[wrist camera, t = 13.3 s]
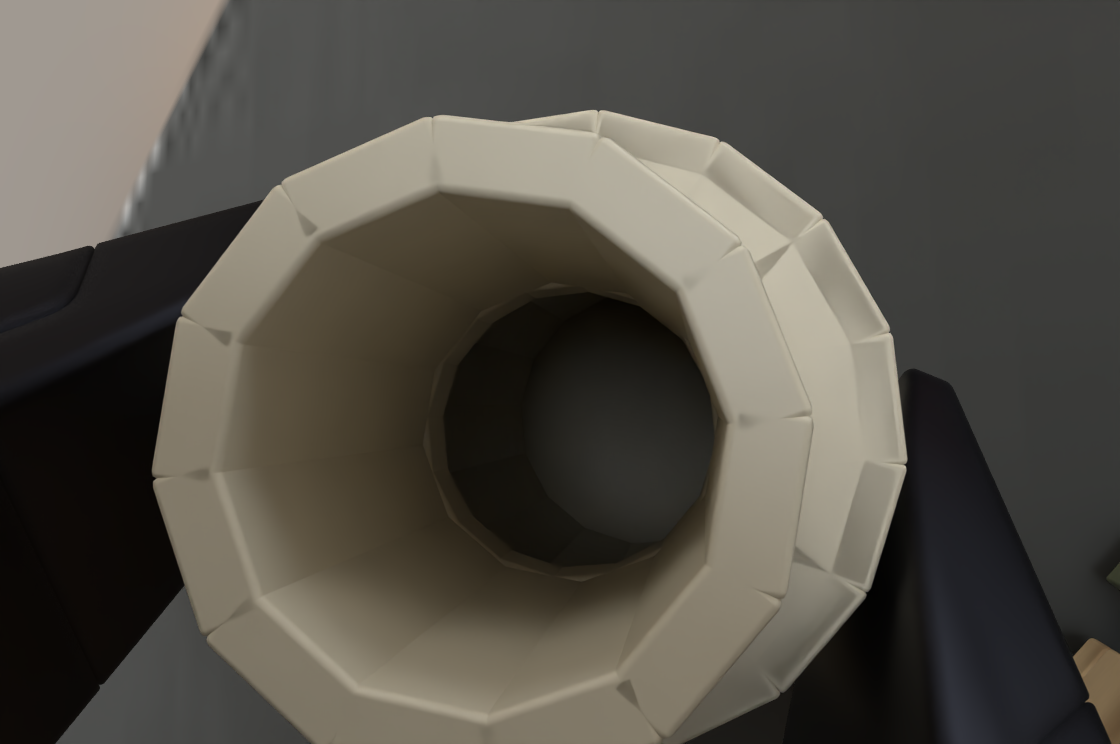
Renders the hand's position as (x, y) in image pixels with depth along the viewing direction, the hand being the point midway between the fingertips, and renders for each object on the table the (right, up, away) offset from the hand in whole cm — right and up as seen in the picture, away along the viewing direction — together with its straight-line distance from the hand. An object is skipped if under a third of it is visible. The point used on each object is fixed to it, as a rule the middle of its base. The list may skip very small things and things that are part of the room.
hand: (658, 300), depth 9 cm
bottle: (+1, -2, +7) cm, 7 cm away
